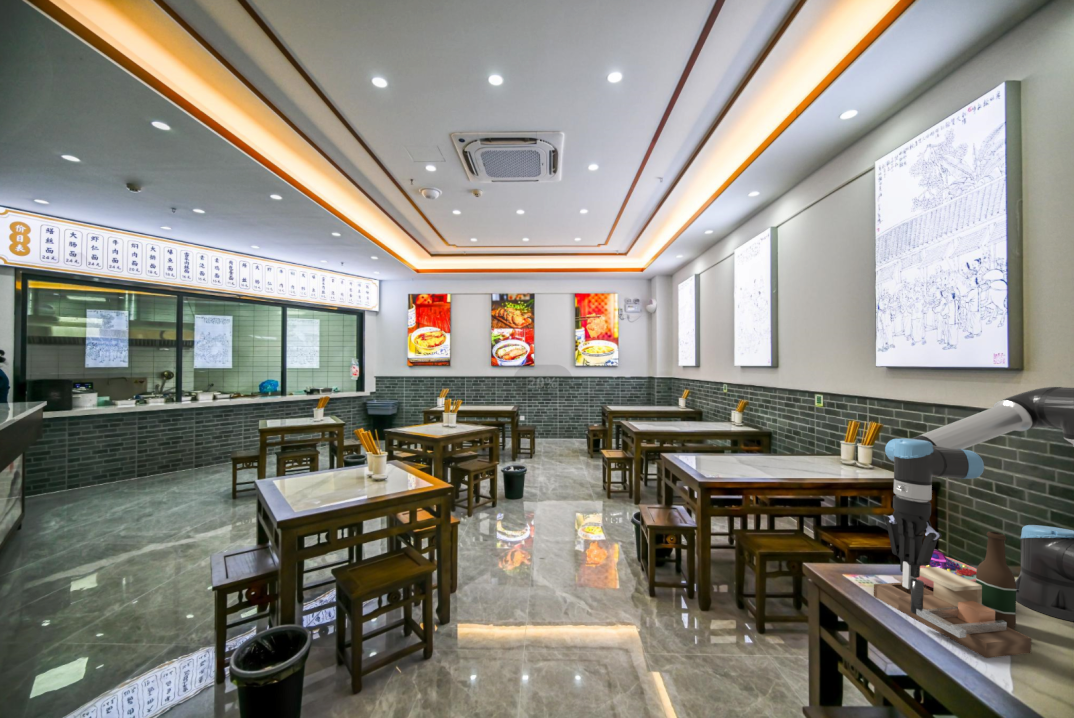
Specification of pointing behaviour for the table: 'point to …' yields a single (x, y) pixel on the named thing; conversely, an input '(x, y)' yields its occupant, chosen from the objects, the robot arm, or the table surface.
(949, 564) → the cell model
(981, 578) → the beer bottle
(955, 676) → the table surface
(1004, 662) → the table surface
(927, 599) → the base
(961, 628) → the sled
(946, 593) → the tunnel
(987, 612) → the block
